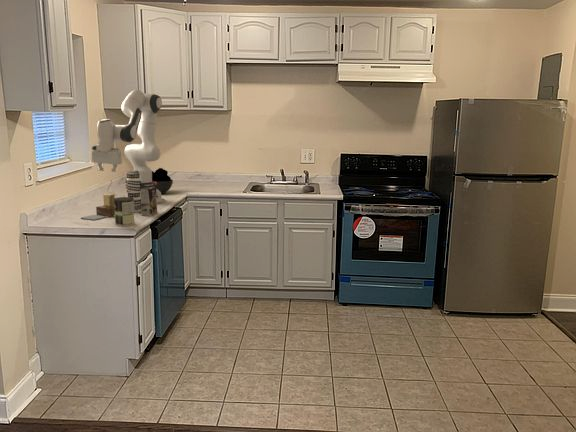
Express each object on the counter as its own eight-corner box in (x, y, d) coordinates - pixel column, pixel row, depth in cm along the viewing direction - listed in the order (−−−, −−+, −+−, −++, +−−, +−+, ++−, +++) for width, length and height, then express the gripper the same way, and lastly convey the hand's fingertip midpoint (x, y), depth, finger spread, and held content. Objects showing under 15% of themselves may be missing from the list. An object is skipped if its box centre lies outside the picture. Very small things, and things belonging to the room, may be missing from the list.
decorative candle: (124, 211, 311) (122, 171, 306) (131, 208, 320) (129, 169, 315) (138, 212, 310) (136, 171, 305) (144, 209, 319) (143, 169, 314)
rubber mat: (94, 215, 299) (94, 214, 299) (107, 217, 295) (107, 216, 294) (80, 218, 290) (80, 217, 290) (93, 220, 286) (93, 219, 286)
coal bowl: (175, 191, 390) (174, 167, 386) (170, 195, 370) (170, 170, 366) (148, 191, 388) (147, 166, 385) (142, 195, 369) (141, 169, 365)
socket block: (109, 212, 310) (109, 203, 309) (123, 213, 305) (122, 205, 304) (96, 215, 300) (96, 206, 299) (110, 216, 296) (109, 208, 295)
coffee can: (113, 226, 273) (111, 200, 270) (117, 222, 283) (116, 197, 280) (132, 226, 274) (131, 200, 271) (136, 221, 284) (135, 197, 281)
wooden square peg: (110, 213, 306) (108, 193, 303) (115, 214, 304) (114, 194, 301) (104, 214, 302) (103, 194, 299) (110, 215, 300) (109, 195, 297)
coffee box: (151, 216, 300) (150, 189, 296) (141, 215, 301) (139, 188, 297) (157, 213, 309) (156, 186, 305) (147, 212, 310) (146, 186, 306)
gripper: (124, 148, 293) (125, 171, 296) (97, 146, 302) (98, 169, 304) (116, 148, 287) (117, 173, 290) (89, 147, 296) (90, 170, 299)
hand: (107, 171), depth 297 cm, fingers open, 8 cm apart
